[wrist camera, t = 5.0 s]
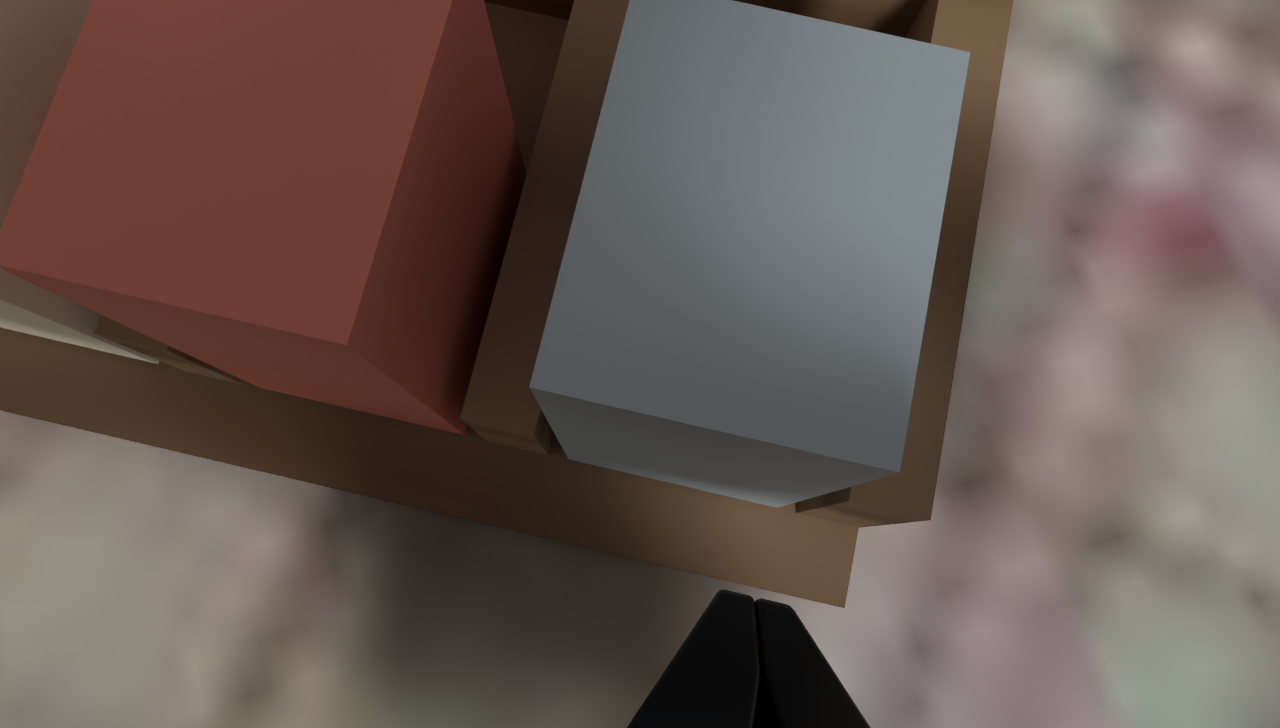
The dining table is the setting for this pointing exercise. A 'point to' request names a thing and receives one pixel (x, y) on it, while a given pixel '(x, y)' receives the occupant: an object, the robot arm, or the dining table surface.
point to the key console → (499, 386)
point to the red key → (283, 191)
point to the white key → (4, 139)
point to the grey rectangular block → (752, 252)
